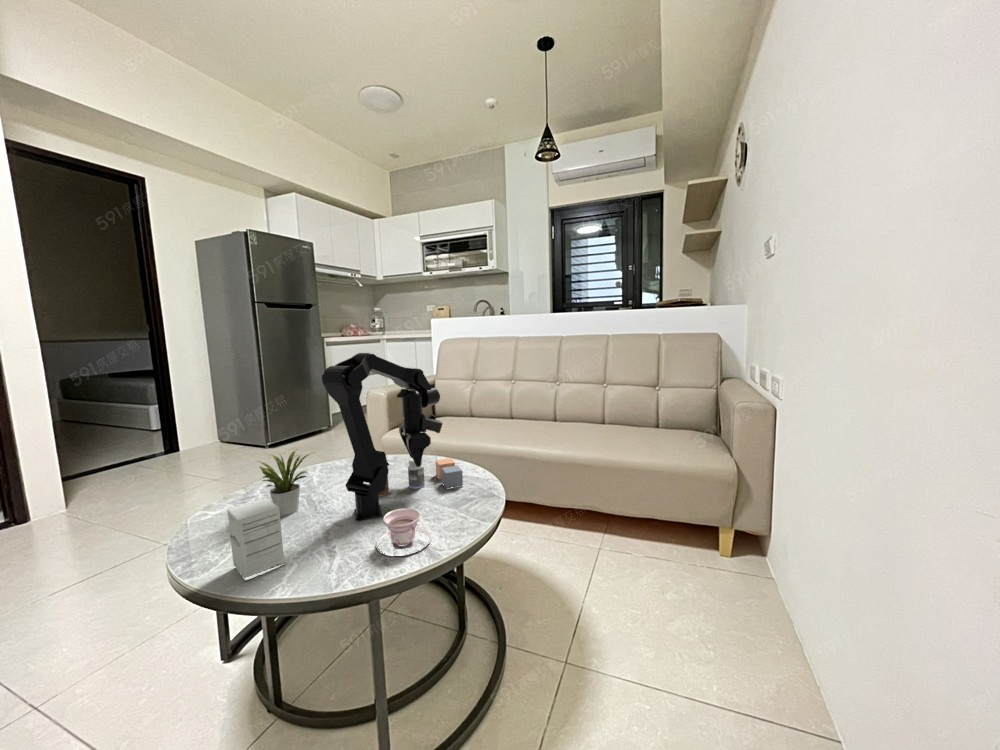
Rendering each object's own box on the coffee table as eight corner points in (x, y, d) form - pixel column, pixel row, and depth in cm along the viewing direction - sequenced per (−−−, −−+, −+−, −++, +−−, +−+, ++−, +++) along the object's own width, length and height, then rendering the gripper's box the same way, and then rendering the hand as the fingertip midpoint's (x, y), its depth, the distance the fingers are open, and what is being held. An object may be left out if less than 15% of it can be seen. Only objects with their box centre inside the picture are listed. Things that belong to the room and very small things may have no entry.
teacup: (366, 543, 88) (364, 517, 87) (413, 524, 96) (412, 499, 95) (393, 565, 79) (391, 536, 78) (442, 542, 87) (441, 515, 86)
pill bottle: (405, 487, 119) (404, 460, 118) (417, 481, 122) (415, 455, 122) (416, 490, 116) (415, 462, 115) (428, 484, 120) (426, 458, 119)
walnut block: (389, 494, 114) (388, 477, 113) (370, 497, 112) (369, 480, 111) (387, 488, 118) (386, 472, 118) (369, 491, 116) (368, 475, 116)
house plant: (316, 493, 115) (311, 439, 114) (326, 510, 104) (321, 450, 102) (259, 507, 107) (253, 449, 106) (263, 527, 96) (256, 462, 94)
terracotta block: (455, 477, 125) (454, 462, 125) (440, 480, 123) (439, 464, 123) (451, 472, 130) (450, 458, 129) (436, 475, 128) (435, 460, 127)
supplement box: (232, 568, 79) (226, 508, 78) (273, 552, 85) (267, 496, 83) (243, 583, 74) (236, 519, 73) (285, 565, 80) (280, 506, 78)
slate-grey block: (462, 486, 118) (462, 470, 117) (446, 489, 116) (445, 473, 116) (458, 480, 123) (457, 465, 122) (442, 483, 121) (441, 467, 120)
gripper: (447, 413, 111) (449, 467, 113) (432, 403, 128) (434, 449, 130) (407, 417, 107) (410, 473, 109) (397, 406, 124) (400, 454, 126)
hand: (415, 461), depth 118 cm, fingers open, 9 cm apart
